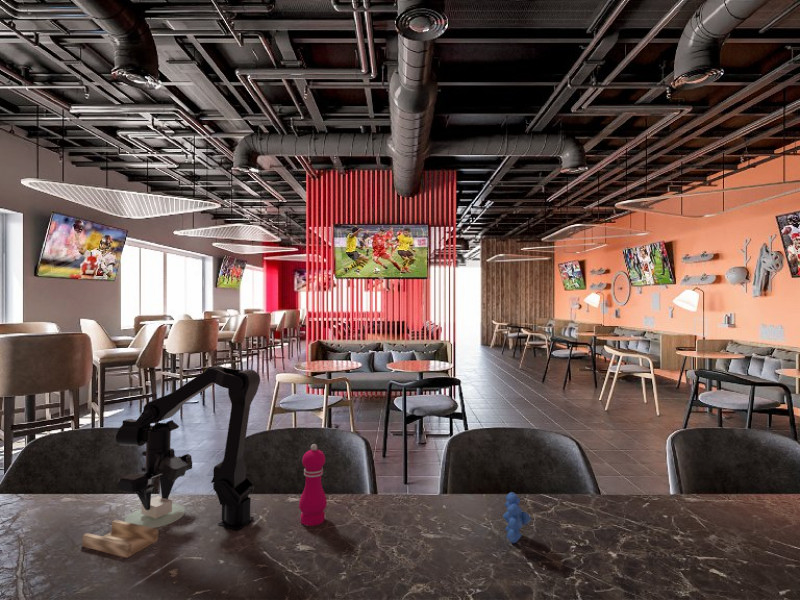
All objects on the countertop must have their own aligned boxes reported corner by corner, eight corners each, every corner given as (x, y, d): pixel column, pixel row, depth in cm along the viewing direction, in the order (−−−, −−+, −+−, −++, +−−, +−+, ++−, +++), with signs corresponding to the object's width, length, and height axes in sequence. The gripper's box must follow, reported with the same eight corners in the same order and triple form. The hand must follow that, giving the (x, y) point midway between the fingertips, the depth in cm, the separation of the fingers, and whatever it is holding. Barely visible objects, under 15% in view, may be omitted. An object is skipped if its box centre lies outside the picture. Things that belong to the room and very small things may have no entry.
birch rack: (158, 541, 101) (158, 529, 102) (126, 559, 94) (127, 545, 94) (115, 531, 106) (115, 519, 106) (82, 547, 98) (82, 534, 99)
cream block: (171, 511, 114) (172, 500, 114) (155, 518, 110) (156, 507, 110) (157, 507, 117) (157, 496, 117) (141, 513, 113) (141, 502, 113)
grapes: (535, 557, 96) (535, 503, 97) (504, 554, 97) (504, 501, 98) (528, 532, 108) (528, 483, 108) (500, 529, 109) (500, 482, 109)
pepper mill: (320, 528, 109) (321, 449, 110) (293, 525, 110) (295, 447, 111) (330, 515, 116) (331, 441, 117) (305, 513, 117) (307, 439, 118)
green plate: (196, 510, 118) (196, 507, 118) (152, 534, 105) (152, 531, 105) (158, 503, 122) (158, 500, 122) (111, 525, 109) (111, 522, 109)
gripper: (150, 460, 103) (148, 526, 102) (208, 440, 121) (206, 496, 120) (116, 455, 107) (114, 519, 106) (177, 436, 124) (176, 490, 124)
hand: (156, 505), depth 114 cm, fingers open, 5 cm apart
